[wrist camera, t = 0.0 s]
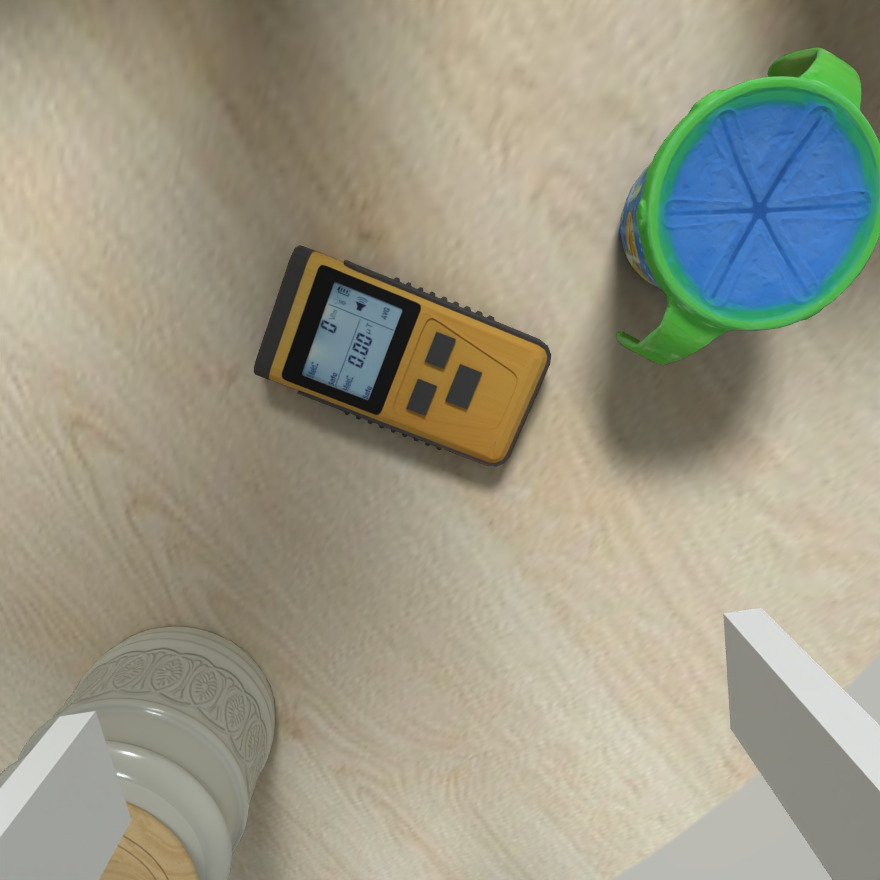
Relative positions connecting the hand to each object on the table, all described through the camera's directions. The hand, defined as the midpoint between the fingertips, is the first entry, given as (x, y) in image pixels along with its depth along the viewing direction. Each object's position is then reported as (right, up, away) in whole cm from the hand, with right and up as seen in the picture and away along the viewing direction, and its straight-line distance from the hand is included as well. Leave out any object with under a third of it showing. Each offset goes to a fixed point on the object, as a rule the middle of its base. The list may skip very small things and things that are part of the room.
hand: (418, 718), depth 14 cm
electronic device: (-2, +11, +27) cm, 29 cm away
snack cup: (+14, +18, +25) cm, 34 cm away
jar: (-17, -12, +32) cm, 38 cm away
